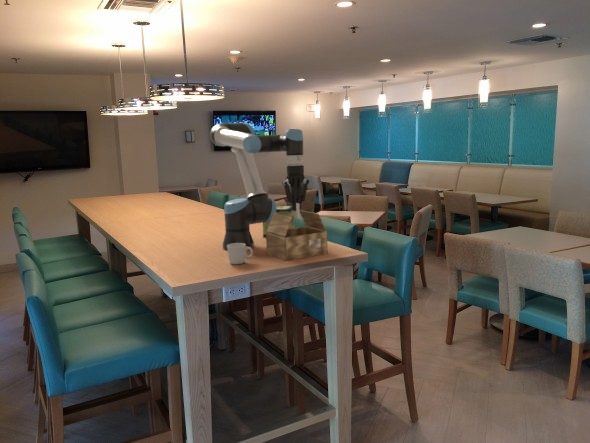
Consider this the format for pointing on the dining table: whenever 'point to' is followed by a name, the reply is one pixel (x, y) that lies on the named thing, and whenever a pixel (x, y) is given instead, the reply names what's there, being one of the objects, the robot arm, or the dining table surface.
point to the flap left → (279, 224)
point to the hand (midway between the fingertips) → (296, 217)
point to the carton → (297, 243)
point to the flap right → (312, 220)
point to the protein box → (283, 211)
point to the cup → (238, 253)
